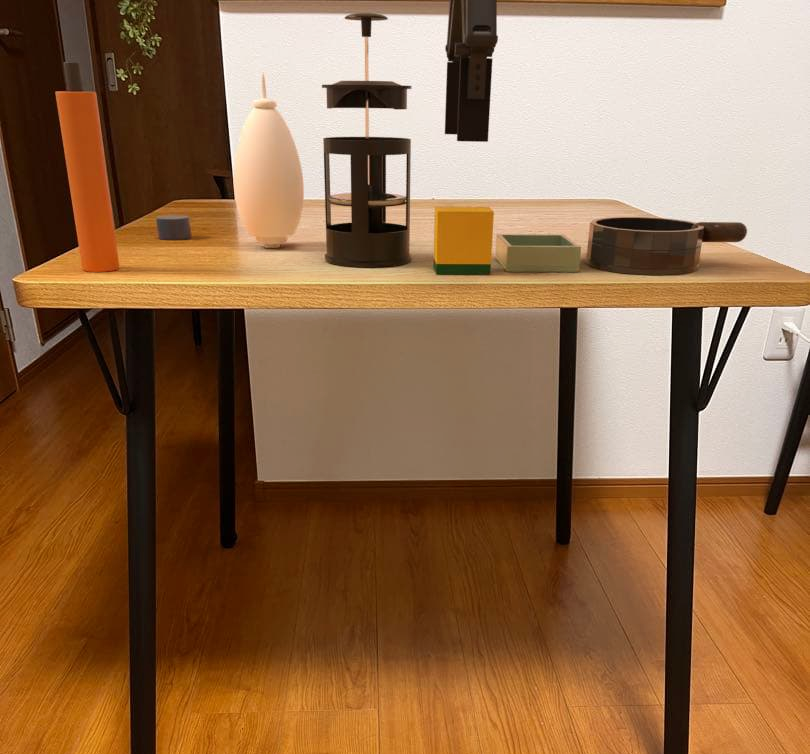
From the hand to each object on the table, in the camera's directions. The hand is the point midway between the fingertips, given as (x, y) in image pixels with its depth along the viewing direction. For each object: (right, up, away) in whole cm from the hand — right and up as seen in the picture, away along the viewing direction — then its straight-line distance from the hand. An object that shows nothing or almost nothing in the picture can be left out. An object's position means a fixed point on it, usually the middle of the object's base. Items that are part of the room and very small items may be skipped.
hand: (464, 138), depth 84 cm
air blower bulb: (-21, -4, +18) cm, 29 cm away
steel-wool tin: (-34, -1, +24) cm, 42 cm away
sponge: (0, -11, +6) cm, 12 cm away
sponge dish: (+8, -9, +9) cm, 15 cm away
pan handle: (+27, -7, +9) cm, 30 cm away
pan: (+20, -9, +10) cm, 24 cm away
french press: (-10, -8, +11) cm, 17 cm away
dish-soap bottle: (-37, -11, +5) cm, 38 cm away
